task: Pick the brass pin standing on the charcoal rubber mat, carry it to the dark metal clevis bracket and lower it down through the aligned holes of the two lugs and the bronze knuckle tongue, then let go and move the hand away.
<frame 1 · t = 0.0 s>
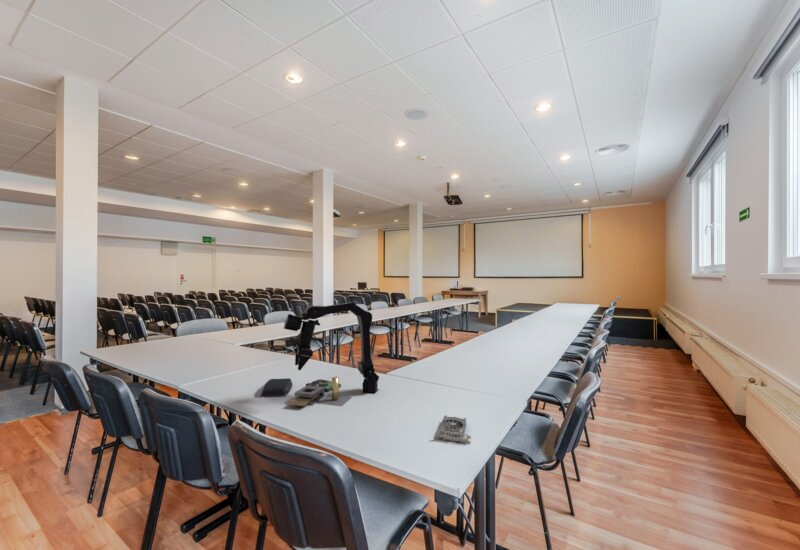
hand: (297, 367, 154), 15 cm above the table, tool pointing down, fingers open, 9 cm apart
rubber mat: (335, 400, 155), on the table
disk drive: (323, 389, 174), on the table
graphics card: (455, 434, 125), on the table
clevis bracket: (308, 401, 155), on the table
brass pin: (335, 388, 155), on the rubber mat
external hard drive: (276, 391, 169), on the table
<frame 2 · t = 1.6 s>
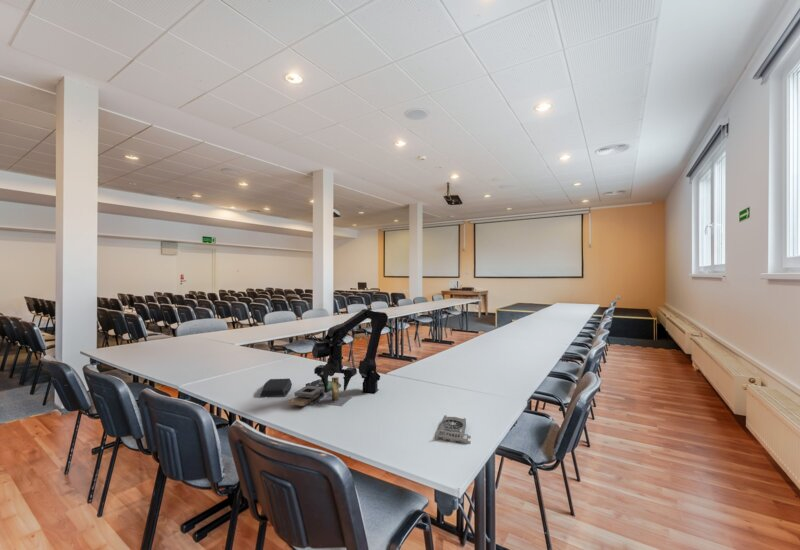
hand: (335, 389, 155), 5 cm above the table, tool pointing down, fingers open, 9 cm apart
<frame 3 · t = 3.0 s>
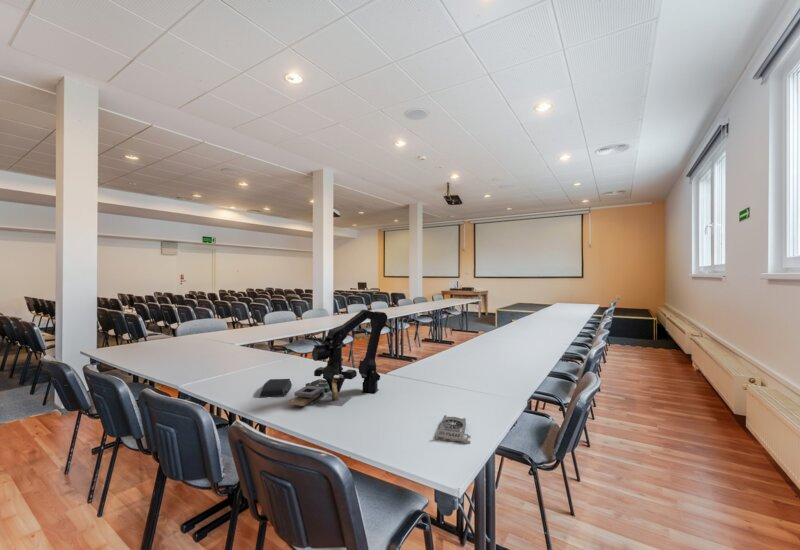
hand: (335, 392, 155), 4 cm above the table, tool pointing down, fingers closed on brass pin, 3 cm apart
brass pin: (335, 388, 155), on the rubber mat, touching gripper
everything else where it was.
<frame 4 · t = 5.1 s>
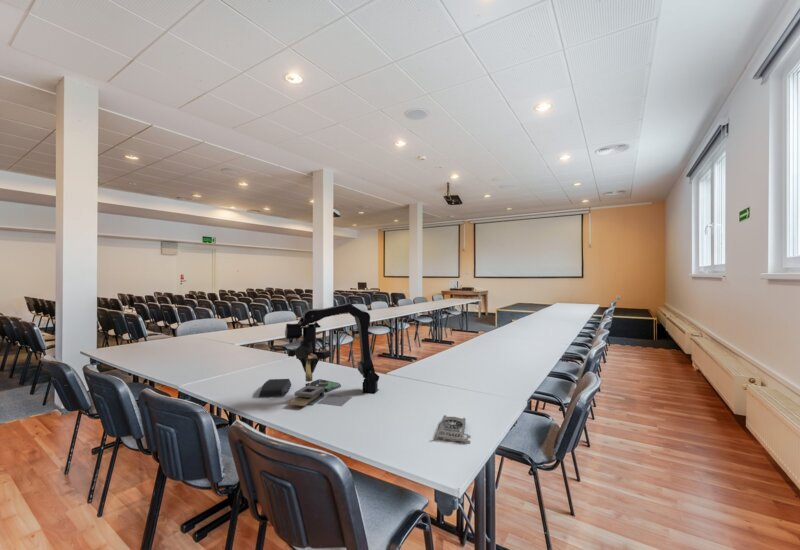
hand: (309, 372, 155), 13 cm above the table, tool pointing down, fingers closed on brass pin, 3 cm apart
brass pin: (309, 369, 155), point 14 cm above the table, touching gripper
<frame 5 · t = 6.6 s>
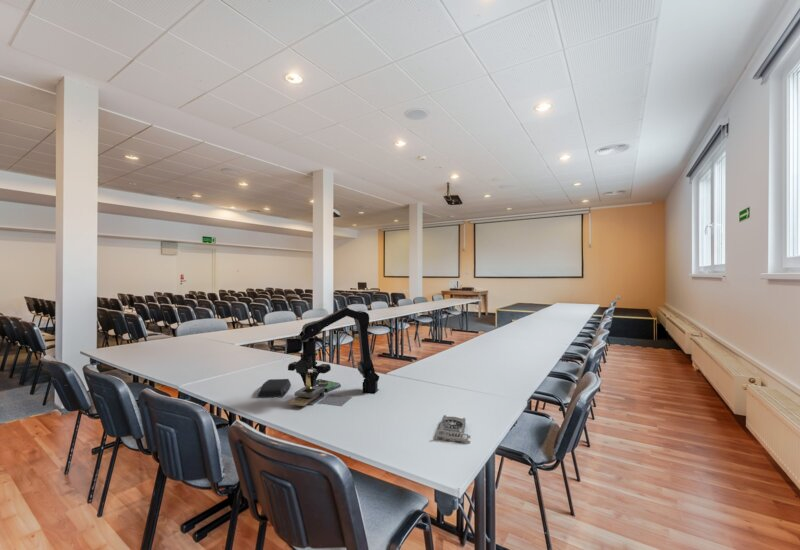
hand: (309, 386, 155), 7 cm above the table, tool pointing down, fingers closed on brass pin, 3 cm apart
brass pin: (309, 383, 155), point 8 cm above the table, touching gripper
when the fingers open (6 cm above the table, at t = 7.7 s): brass pin drops 3 cm, resting in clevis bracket.
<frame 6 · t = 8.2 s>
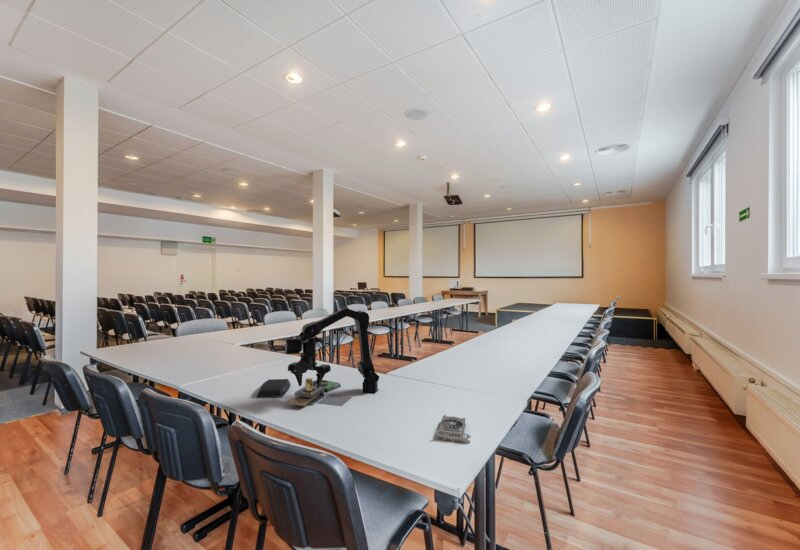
hand: (309, 387, 155), 6 cm above the table, tool pointing down, fingers open, 9 cm apart
brass pin: (309, 390, 155), in the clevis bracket
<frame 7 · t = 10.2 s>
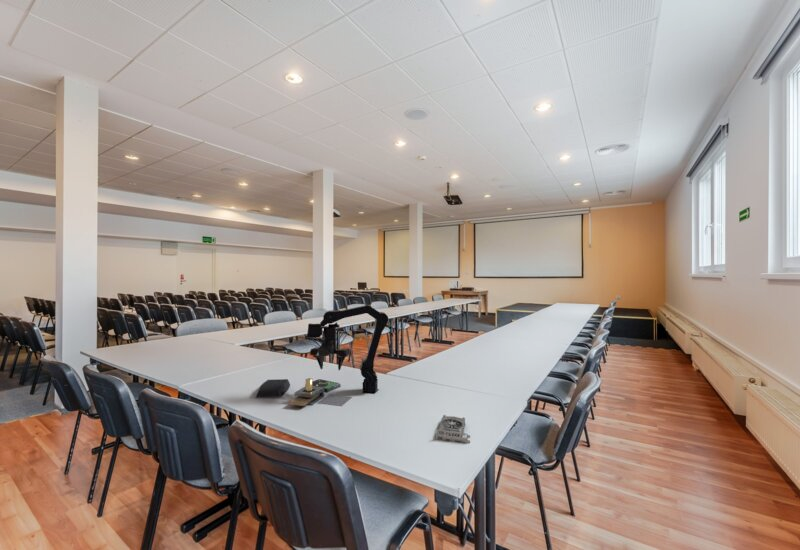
hand: (330, 369, 165), 12 cm above the table, tool pointing down, fingers open, 9 cm apart
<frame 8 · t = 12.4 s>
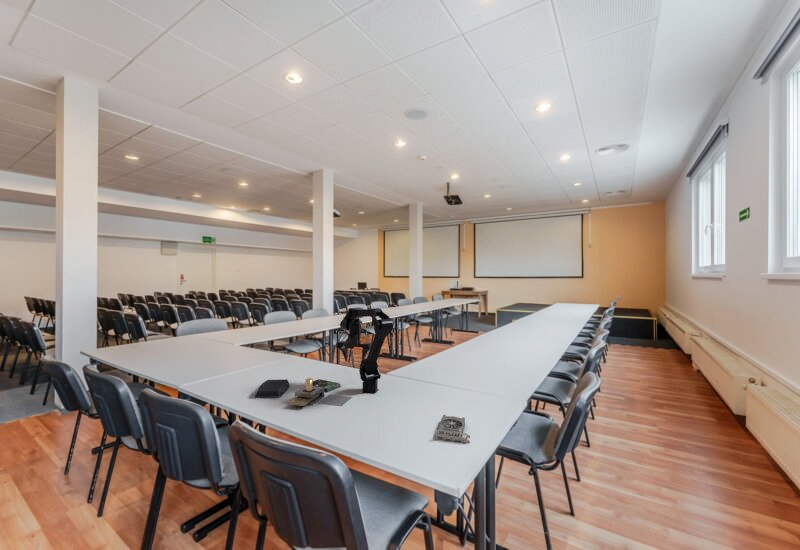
hand: (354, 361, 179), 12 cm above the table, tool pointing down, fingers open, 9 cm apart
at the end: brass pin 0.0 cm off-centre on the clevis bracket, point 5.0 cm above the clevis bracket's base; brass pin tilted 0°; the gripper is holding nothing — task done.
